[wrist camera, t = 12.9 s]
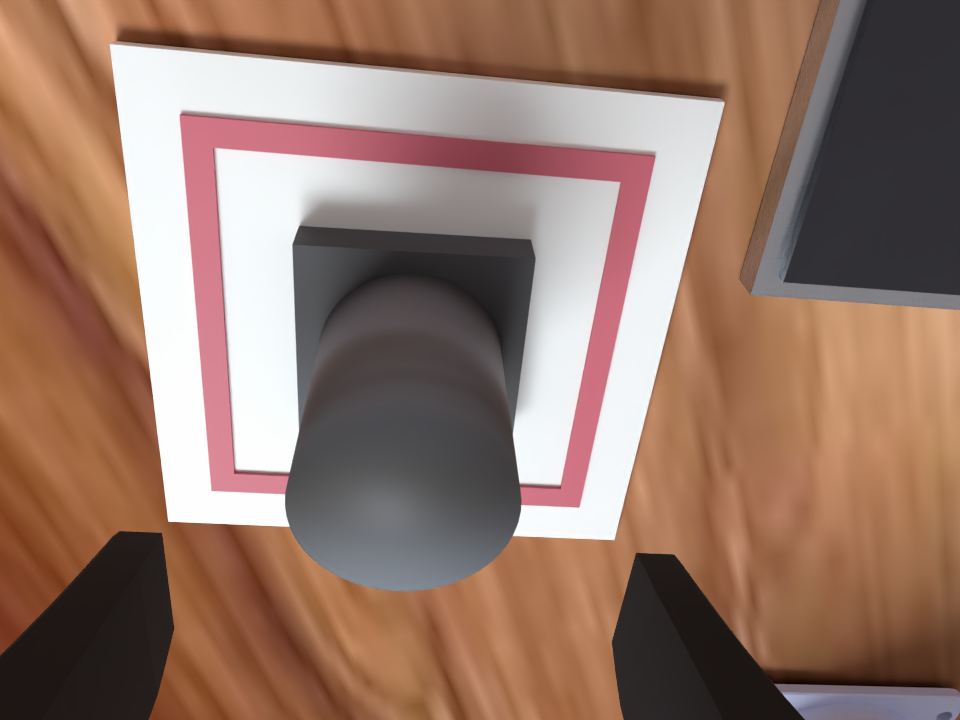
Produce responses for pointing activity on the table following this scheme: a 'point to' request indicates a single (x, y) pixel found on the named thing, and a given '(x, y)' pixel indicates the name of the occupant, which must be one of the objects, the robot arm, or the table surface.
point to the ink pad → (868, 162)
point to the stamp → (406, 402)
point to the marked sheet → (401, 208)
